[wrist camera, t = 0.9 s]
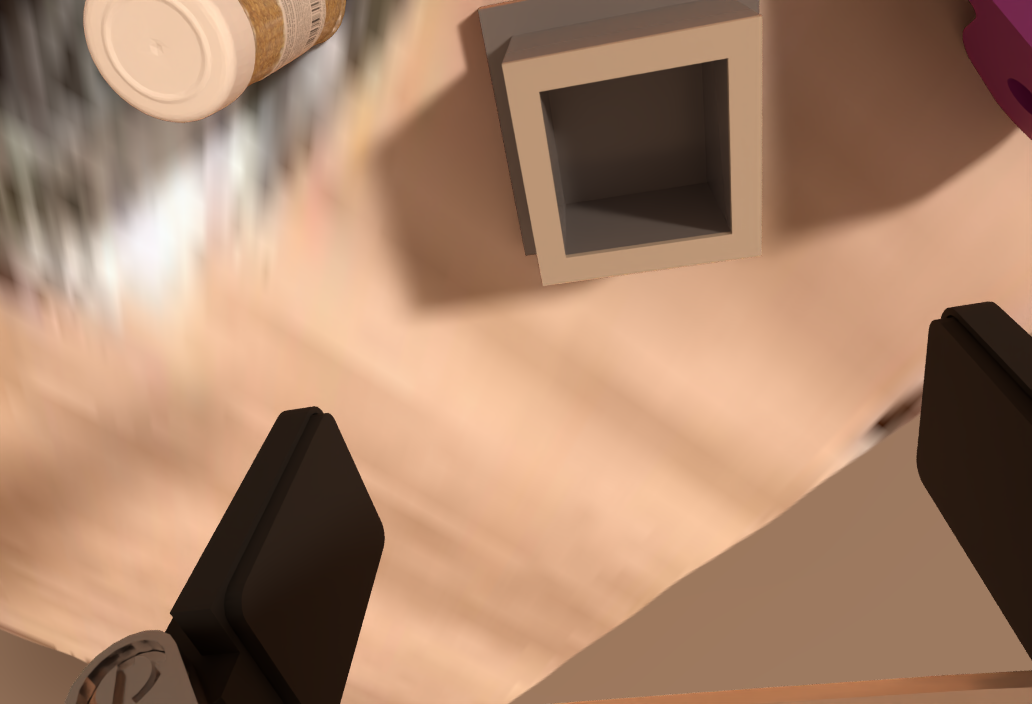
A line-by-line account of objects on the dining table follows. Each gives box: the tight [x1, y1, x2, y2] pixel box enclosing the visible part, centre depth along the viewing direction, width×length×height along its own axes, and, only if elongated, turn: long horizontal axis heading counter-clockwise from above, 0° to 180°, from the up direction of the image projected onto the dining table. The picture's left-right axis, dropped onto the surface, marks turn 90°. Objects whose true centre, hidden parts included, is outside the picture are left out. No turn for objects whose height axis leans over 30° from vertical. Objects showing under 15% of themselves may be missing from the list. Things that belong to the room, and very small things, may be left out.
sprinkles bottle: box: [83, 0, 346, 123], centre depth 26 cm, size 5×5×13 cm
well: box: [478, 0, 762, 286], centre depth 31 cm, size 12×12×7 cm
